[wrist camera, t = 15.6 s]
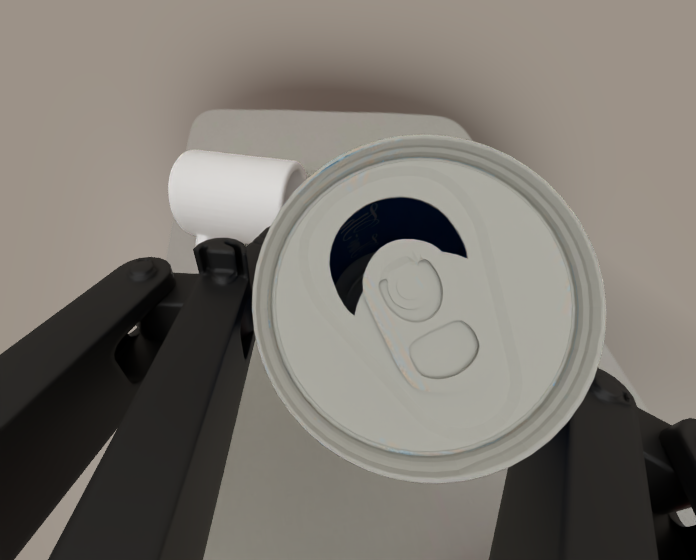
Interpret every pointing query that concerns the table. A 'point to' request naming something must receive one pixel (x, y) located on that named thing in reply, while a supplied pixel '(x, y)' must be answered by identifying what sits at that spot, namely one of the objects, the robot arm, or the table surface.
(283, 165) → the mug
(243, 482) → the table surface
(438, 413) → the beverage can
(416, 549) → the table surface
